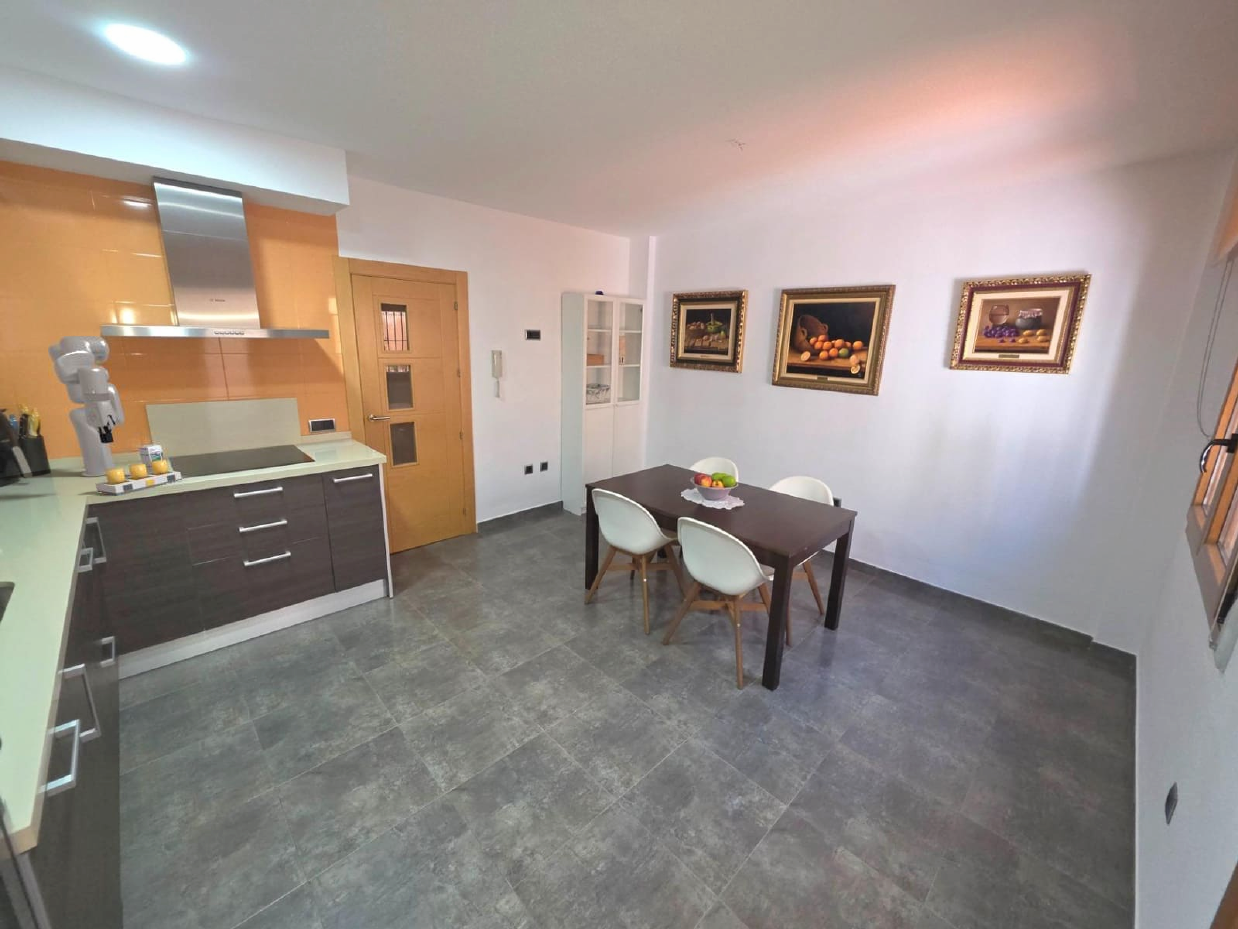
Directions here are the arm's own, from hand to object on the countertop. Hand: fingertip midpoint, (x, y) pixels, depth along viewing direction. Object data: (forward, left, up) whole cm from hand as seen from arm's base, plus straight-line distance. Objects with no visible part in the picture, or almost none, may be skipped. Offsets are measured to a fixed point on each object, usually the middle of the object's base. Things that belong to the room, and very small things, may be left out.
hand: (107, 442), depth 202 cm
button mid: (0, +8, -18) cm, 19 cm away
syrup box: (-14, +22, -21) cm, 34 cm away
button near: (0, 0, -18) cm, 18 cm away
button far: (0, +16, -18) cm, 24 cm away
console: (0, +8, -21) cm, 23 cm away
